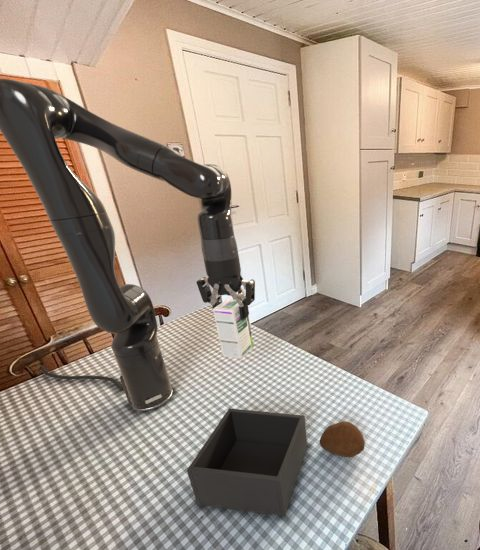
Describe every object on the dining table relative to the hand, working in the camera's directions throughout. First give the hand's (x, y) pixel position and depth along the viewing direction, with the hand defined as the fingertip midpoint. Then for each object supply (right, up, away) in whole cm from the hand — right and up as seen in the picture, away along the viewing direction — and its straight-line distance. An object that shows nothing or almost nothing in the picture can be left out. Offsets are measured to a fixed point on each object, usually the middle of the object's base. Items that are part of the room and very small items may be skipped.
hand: (232, 317), depth 77 cm
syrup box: (0, -10, +4) cm, 11 cm away
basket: (+11, -32, -13) cm, 36 cm away
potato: (+29, -30, -7) cm, 42 cm away
